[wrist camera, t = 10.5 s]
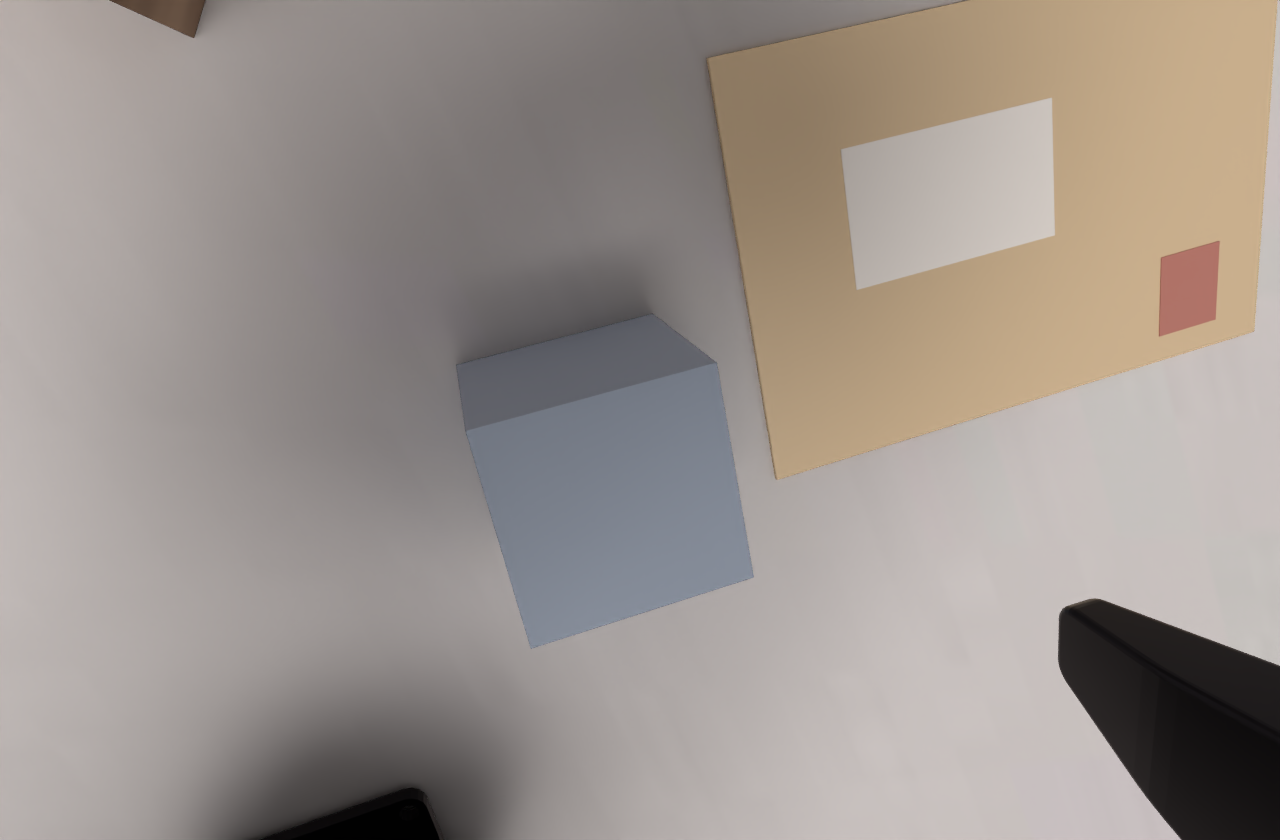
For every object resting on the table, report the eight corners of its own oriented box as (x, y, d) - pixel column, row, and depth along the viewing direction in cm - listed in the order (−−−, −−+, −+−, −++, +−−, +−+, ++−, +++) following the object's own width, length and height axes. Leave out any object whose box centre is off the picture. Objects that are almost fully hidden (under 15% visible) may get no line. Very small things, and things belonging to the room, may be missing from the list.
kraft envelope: (774, 476, 23) (777, 480, 23) (705, 58, 19) (708, 57, 19) (1248, 330, 26) (1255, 331, 25) (1274, -68, 22) (1283, -70, 21)
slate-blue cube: (508, 541, 22) (531, 648, 17) (455, 364, 20) (465, 430, 15) (686, 488, 22) (753, 577, 18) (651, 312, 21) (717, 362, 16)
